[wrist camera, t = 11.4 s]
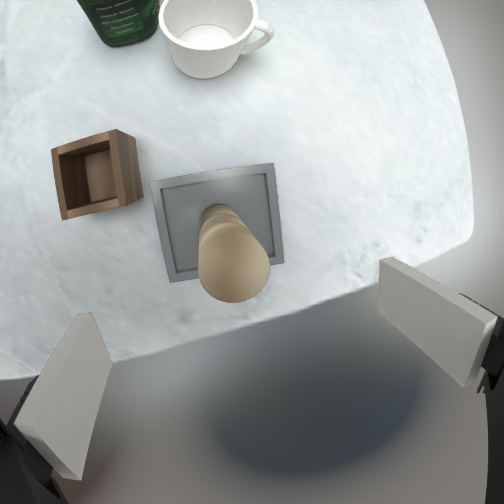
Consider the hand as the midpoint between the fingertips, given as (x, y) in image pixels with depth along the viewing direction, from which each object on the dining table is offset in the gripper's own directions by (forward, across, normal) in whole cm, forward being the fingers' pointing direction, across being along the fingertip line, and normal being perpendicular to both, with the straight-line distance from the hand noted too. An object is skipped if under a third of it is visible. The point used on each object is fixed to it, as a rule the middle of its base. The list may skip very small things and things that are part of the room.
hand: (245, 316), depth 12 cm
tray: (+24, +1, 0) cm, 24 cm away
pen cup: (+24, -11, +8) cm, 27 cm away
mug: (+24, +3, +21) cm, 32 cm away
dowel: (+23, +1, 0) cm, 23 cm away
